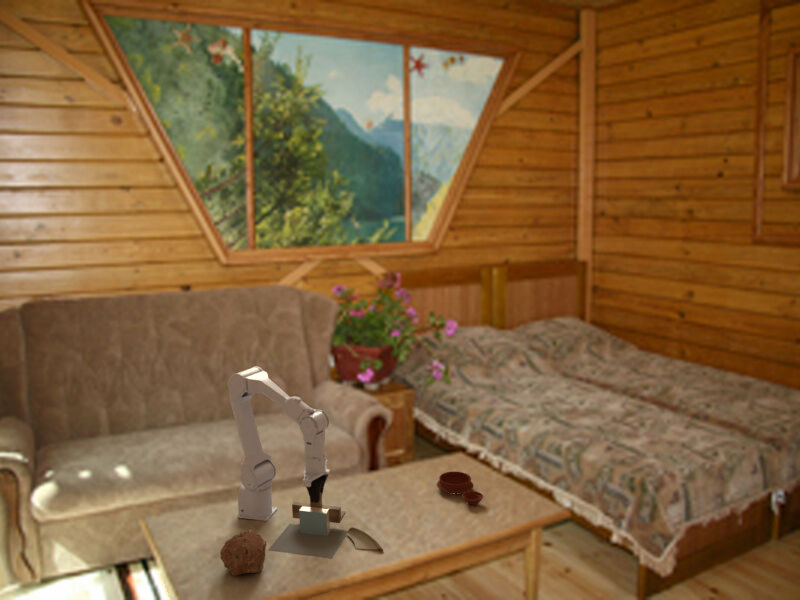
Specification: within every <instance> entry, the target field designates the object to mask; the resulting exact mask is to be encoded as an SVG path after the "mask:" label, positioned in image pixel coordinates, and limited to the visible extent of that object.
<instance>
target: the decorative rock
mask: <svg viewBox="0 0 800 600" xmlns="http://www.w3.org/2000/svg"><path fill="white" fill-rule="evenodd" d="M266 548H267V541H266V540H265V538H263V537H262V536H261V534H260V533H258V531H255V530H253V529H248V530H245V531H243V530H241V531H239V533H238V534H235V535H233V536H232V537H231V538H228V540H226V541H225V542H224V545H223V546H222V548H221V549H220V552H219V553H220V557H219V558H220V559H221V562H222V563H223V567H224V568H226V569H227V570H228V571H229V572H230V574H232V576H239V575H242V574H243V575H244V574H250V573H252V574H255V573H260V572H261V571H262V570H263V568H264V563H265V559H266Z"/></svg>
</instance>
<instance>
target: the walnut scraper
mask: <svg viewBox="0 0 800 600" xmlns="http://www.w3.org/2000/svg"><path fill="white" fill-rule="evenodd" d="M302 506H307V507H316V508H325V509H329V516H330V523H333V524H334V523H335V524H340V523H341V522H342V520H343V518H344V516H345V515H346V514H347V513H346V511H344V510H341V509H342V508H341V506H336V505H335V506H334V505H333V506H332V505H325V504H323V494H322V492H320V499H319V502H318V503H314V502H311V500H310V499H309V503H306V502H300V501H299V502H297V501H293V503H292V504H291V507H292V509H291V511H292V518H293V519H298V520H300V518H299V510H300V508H301V507H302Z"/></svg>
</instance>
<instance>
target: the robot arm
mask: <svg viewBox="0 0 800 600" xmlns="http://www.w3.org/2000/svg"><path fill="white" fill-rule="evenodd" d="M226 385H227V388H228V392H229V397H228V399H229V403H230V407H231V409H232V414H233V417H234V422H235V426H236V430H237V432H238V437H239V440H240V444H241V448H242V452H243V456H244V457H243V460H242V461H241V463H240V465H239V469H240V482H241V485H240V487H239V489H238V492H237V493H238V494H237V508H238V515H237V518H238V519H239V518H240V519H248V520H255V521H262V522H263V521H264V522H268V520H269V519H270V518H271V517H272V516H273V515H274V513H275V512H277V510H278V507H276V506H273V496H272V495H273V494H272V491H273V490H272V484H273V479H274V478H275V477H276V475H277V468H276V465H275V464H274V462H273V461H272V458H271V455H270V454H268V453H267V452H264V450H263V447H262V442H261V439H260V435H259V431H258V427H257V424H256V420H255V416H254V413H253V412H254V411H253V409H252V405H251V399H252V398H253V396H254V395H255V394H262V395H264V396H265V397H267V398H268V399H270V400H271V401H272V402H274V403H276V404H278V405H279V406H280V407H281V408H282V413H283V415H285V416H287V417H288V418H290V419H291V420H292V421H293V422H295V423H296V424H297V425H298V426H299V429H300V432H301V433H302V436H303V441H304V474H303V475H304V476H303V479H302V487H305V488H306V490H307V493H308V496H309V501H310V500H311V502H314V503H318V502H319V499H320V492H322V495H323V493H324V488H325V484H326V481H327V480H328V476H329V474H330V473H331V469H328V468H327V467H328V459H327V458H326V429H327V428H329V425H330V419H329V415H327V414H326V412H324V410H321V409H315V408H313V407H312V406H311V407H310V406H309V405H308V404H307V403H305V402H304V400H303V401H302V398H301V397H300V396H295V395H294V396H290V395H288V394H287V392H285V391H284V390H282V388H280V387H279V386H278V384H276V383H275V382H273V380H272V379H270V377H269V375H268V372H267V371H265V370H263V368H262V367H260V366H258V365H257V366H252V367H251V368H248V369H245V370H241V371H240V372H235V373H233V374H231V376H230V377H229V379H228V380H227V381H226Z"/></svg>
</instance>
